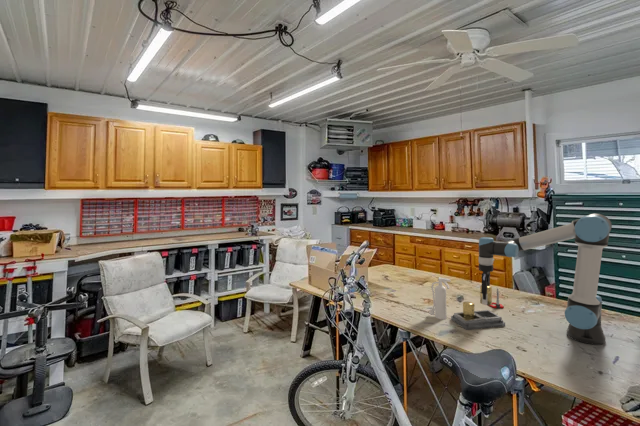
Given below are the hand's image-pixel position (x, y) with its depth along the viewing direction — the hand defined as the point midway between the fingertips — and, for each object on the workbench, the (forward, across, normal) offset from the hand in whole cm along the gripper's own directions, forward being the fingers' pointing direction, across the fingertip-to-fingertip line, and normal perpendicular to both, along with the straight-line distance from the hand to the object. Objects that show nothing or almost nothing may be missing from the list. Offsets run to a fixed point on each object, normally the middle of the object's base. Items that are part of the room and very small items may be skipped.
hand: (485, 302), depth 180 cm
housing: (+11, -4, +4) cm, 13 cm away
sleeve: (0, 0, 0) cm, 0 cm away
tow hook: (+12, +31, -1) cm, 33 cm away
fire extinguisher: (+12, -8, +24) cm, 28 cm away
